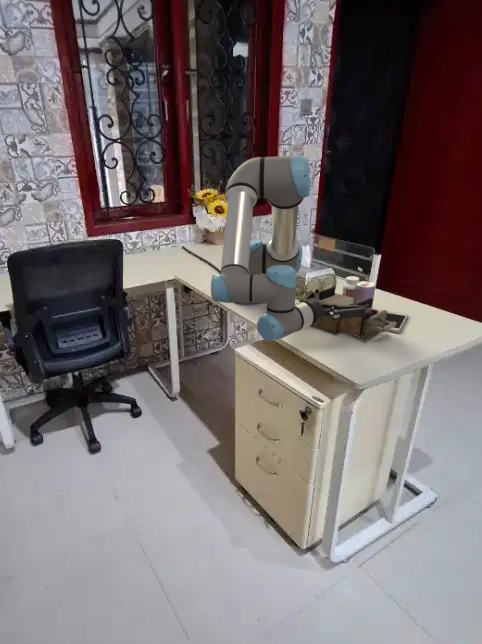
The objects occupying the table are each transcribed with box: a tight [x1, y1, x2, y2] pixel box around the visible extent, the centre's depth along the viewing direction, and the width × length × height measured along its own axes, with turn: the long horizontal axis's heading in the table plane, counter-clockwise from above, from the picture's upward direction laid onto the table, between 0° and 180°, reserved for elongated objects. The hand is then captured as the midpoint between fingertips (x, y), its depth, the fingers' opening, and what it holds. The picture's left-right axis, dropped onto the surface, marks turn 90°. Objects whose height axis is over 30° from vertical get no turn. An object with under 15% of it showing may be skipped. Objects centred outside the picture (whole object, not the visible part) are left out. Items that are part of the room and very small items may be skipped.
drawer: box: [338, 307, 397, 342], centre depth 134 cm, size 17×12×7 cm
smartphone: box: [385, 310, 409, 333], centre depth 143 cm, size 7×16×1 cm, turn 146°
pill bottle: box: [341, 275, 360, 298], centre depth 157 cm, size 6×6×11 cm
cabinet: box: [311, 292, 353, 336], centre depth 144 cm, size 14×13×9 cm
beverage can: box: [353, 280, 376, 331], centre depth 133 cm, size 6×6×15 cm
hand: (352, 296), depth 128 cm, fingers open, 13 cm apart
